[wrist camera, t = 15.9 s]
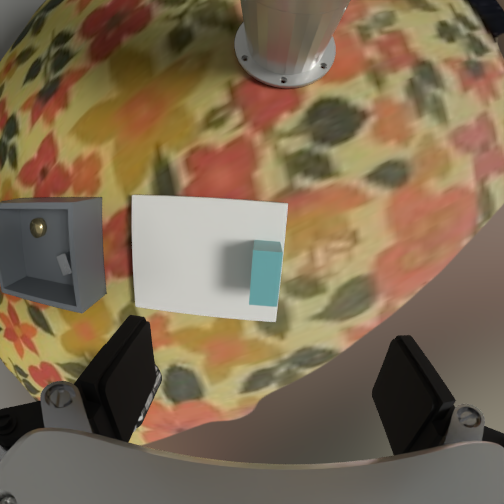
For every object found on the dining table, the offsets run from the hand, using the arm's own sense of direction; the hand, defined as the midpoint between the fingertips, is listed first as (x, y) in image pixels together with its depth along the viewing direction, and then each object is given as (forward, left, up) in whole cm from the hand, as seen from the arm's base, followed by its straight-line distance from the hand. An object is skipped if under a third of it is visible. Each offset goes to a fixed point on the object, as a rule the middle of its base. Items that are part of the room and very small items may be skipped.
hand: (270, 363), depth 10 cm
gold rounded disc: (+1, -34, -25) cm, 43 cm away
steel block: (+6, -28, -25) cm, 39 cm away
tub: (+4, -31, -26) cm, 41 cm away
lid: (+4, -7, -27) cm, 28 cm away
